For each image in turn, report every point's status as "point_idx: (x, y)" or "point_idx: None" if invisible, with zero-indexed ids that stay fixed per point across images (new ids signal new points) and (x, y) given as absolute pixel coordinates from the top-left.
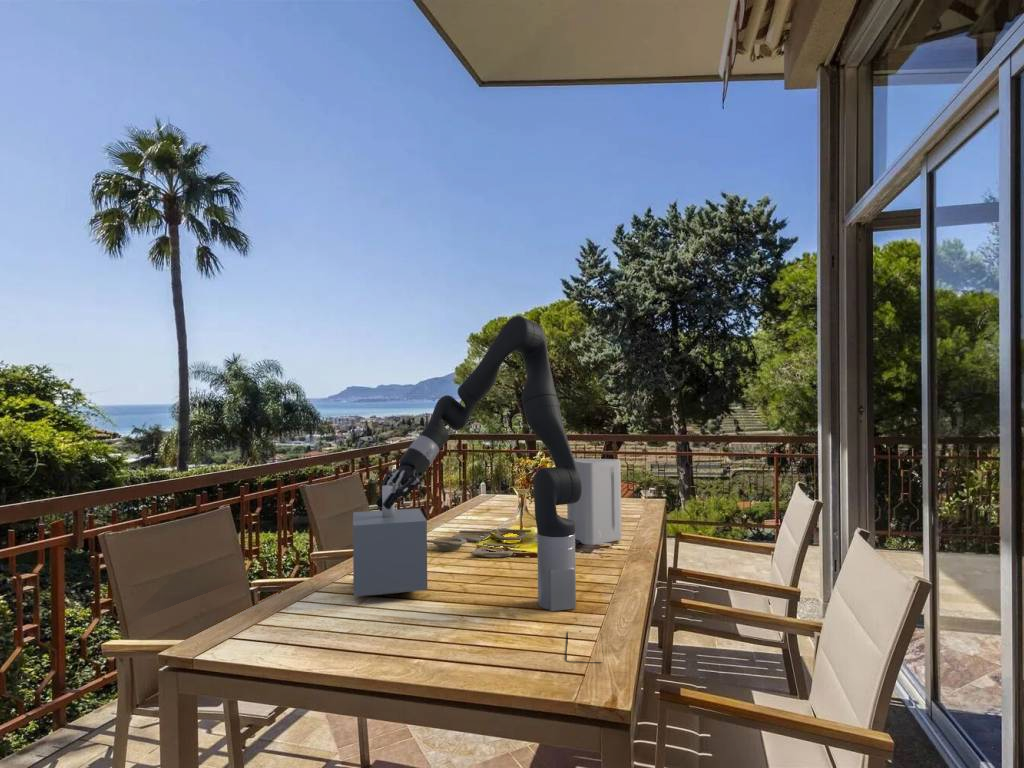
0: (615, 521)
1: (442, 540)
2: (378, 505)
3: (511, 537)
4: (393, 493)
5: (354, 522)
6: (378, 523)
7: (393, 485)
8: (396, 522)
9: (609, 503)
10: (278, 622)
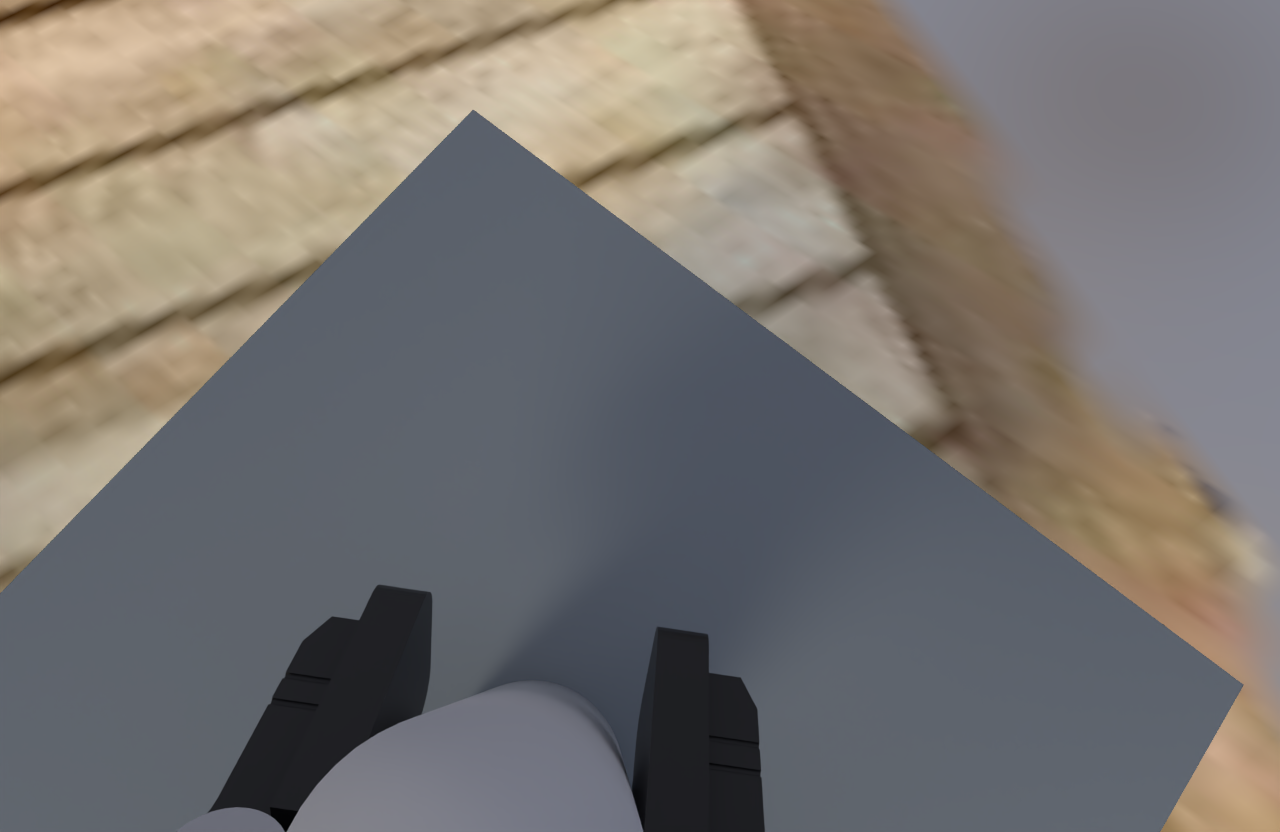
0: None
1: None
2: (648, 670)
3: None
4: (241, 821)
5: (603, 226)
6: (280, 349)
7: None
8: (92, 527)
9: None
10: (651, 29)
